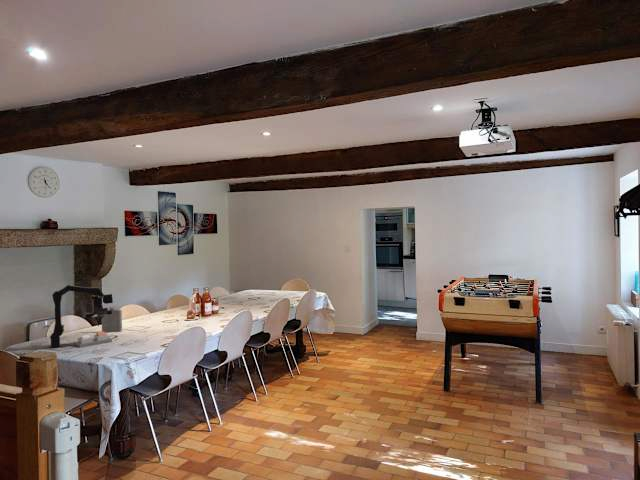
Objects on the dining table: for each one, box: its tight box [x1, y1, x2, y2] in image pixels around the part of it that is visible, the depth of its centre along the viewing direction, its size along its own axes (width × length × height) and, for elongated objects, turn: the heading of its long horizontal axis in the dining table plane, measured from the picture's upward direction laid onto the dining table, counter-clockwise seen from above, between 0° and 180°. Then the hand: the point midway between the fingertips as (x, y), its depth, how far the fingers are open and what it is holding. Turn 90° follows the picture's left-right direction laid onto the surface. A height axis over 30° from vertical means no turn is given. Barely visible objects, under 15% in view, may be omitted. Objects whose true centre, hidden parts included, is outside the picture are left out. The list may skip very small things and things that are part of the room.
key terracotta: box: [95, 331, 107, 336], centre depth 332 cm, size 5×5×3 cm
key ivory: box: [79, 334, 91, 339], centre depth 324 cm, size 5×5×3 cm
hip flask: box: [101, 306, 123, 333], centre depth 367 cm, size 16×4×20 cm, turn 93°
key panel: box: [73, 333, 113, 348], centre depth 328 cm, size 12×22×5 cm, turn 137°
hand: (98, 325), depth 331 cm, fingers closed
